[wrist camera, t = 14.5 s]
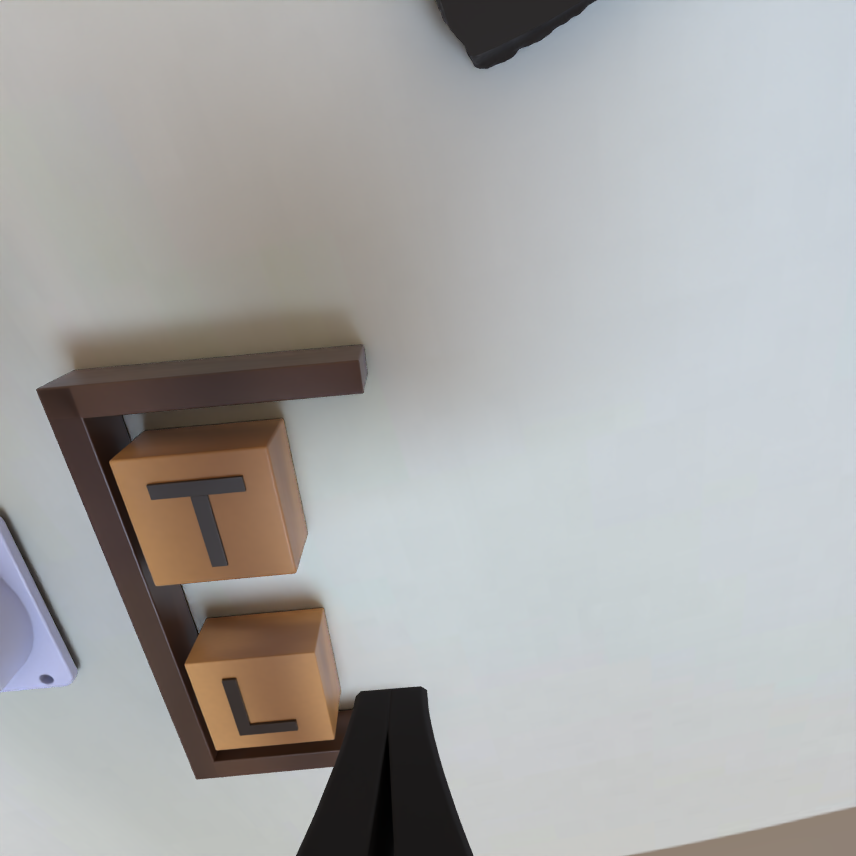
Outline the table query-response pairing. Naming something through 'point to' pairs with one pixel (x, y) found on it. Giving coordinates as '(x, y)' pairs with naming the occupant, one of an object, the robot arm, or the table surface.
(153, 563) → the t tile
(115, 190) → the table surface
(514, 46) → the dark sector wedge
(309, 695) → the l tile
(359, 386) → the frame
